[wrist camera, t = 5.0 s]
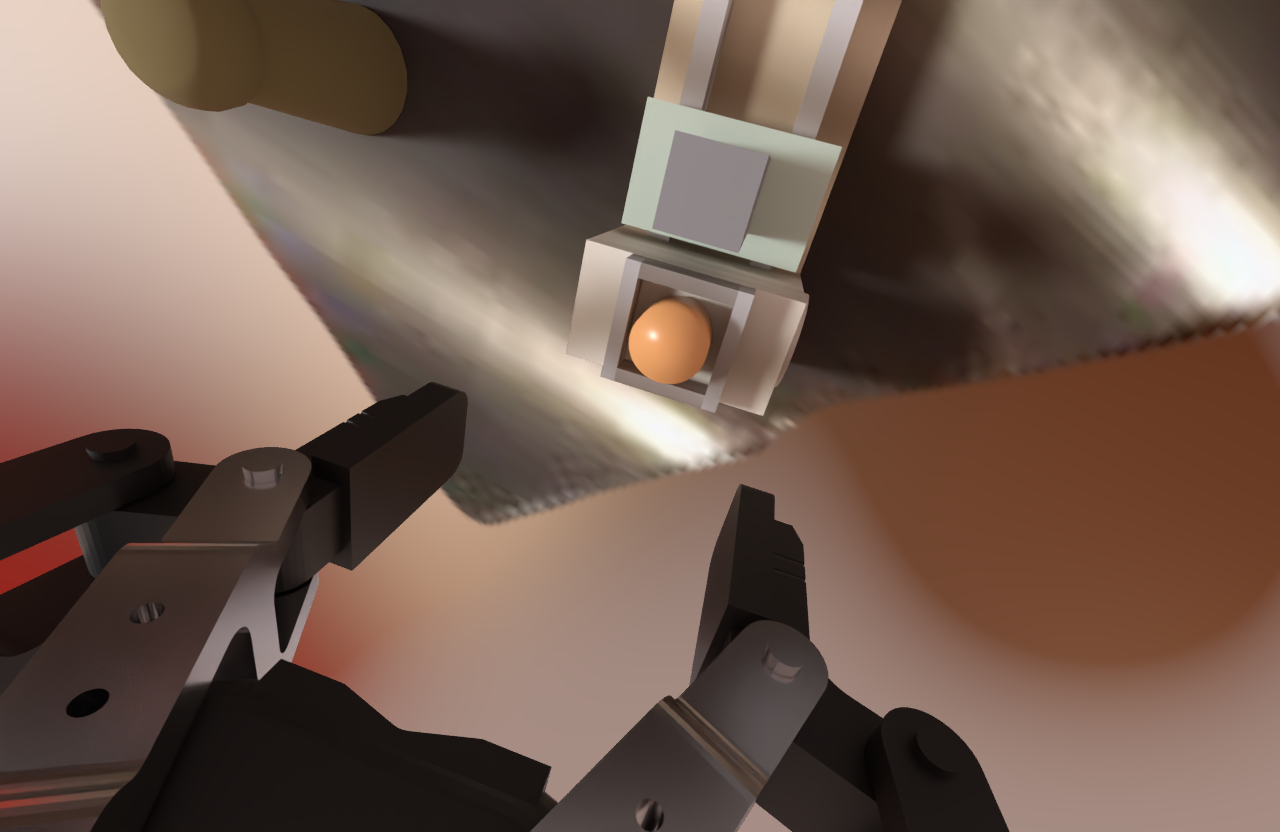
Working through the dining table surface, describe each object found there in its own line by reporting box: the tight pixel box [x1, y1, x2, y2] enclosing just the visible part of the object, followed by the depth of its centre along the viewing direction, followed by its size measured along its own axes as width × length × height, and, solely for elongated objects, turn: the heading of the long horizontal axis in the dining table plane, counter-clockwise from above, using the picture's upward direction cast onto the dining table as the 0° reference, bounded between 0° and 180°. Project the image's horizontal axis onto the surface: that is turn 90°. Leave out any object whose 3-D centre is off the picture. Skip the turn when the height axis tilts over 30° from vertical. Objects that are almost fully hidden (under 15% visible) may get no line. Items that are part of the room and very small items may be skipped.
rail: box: [566, 0, 902, 416], centre depth 20 cm, size 25×10×9 cm, turn 166°
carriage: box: [622, 97, 842, 273], centre depth 20 cm, size 5×8×8 cm, turn 76°
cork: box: [101, 0, 407, 135], centre depth 24 cm, size 6×6×11 cm
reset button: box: [629, 295, 713, 384], centre depth 21 cm, size 3×3×2 cm
